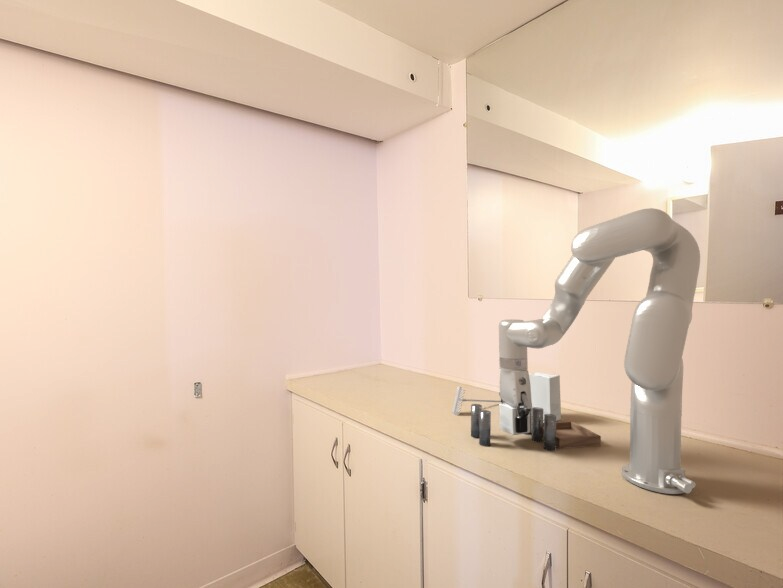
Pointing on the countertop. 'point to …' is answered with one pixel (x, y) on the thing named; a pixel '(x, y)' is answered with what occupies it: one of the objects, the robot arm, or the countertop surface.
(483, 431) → the posts
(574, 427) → the walnut tray
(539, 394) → the skincare box
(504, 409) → the skincare box
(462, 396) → the brush
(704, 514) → the countertop surface
